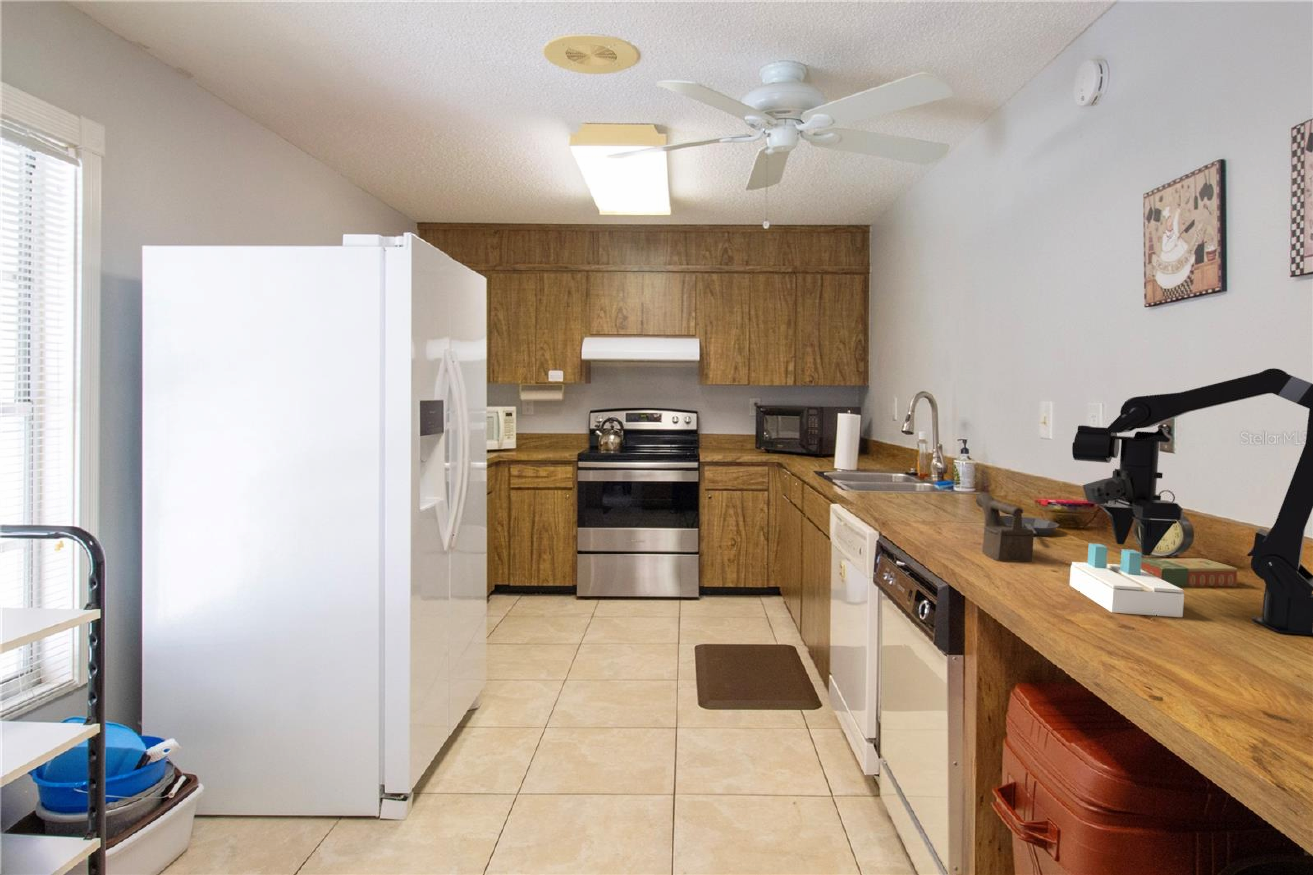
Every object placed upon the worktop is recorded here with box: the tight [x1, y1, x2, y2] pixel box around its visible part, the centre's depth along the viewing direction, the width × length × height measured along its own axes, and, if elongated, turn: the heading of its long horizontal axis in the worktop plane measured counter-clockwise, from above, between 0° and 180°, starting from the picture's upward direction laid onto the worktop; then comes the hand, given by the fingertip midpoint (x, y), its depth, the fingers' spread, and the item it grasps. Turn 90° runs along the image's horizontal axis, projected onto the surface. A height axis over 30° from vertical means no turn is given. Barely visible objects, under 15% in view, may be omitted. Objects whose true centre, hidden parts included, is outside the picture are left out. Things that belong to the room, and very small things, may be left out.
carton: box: [1141, 557, 1238, 588], centre depth 142 cm, size 8×16×4 cm, turn 94°
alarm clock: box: [1133, 489, 1195, 558], centre depth 159 cm, size 11×5×16 cm, turn 25°
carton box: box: [1069, 564, 1185, 618], centre depth 127 cm, size 17×11×4 cm, turn 171°
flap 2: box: [1106, 548, 1184, 594], centre depth 126 cm, size 17×4×4 cm, turn 171°
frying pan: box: [1000, 515, 1060, 537], centre depth 185 cm, size 18×32×4 cm, turn 159°
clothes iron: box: [975, 491, 1035, 562], centre depth 161 cm, size 8×16×13 cm, turn 1°
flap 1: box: [1071, 542, 1143, 590], centre depth 127 cm, size 17×4×4 cm, turn 171°
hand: (1132, 549), depth 128 cm, fingers open, 9 cm apart
